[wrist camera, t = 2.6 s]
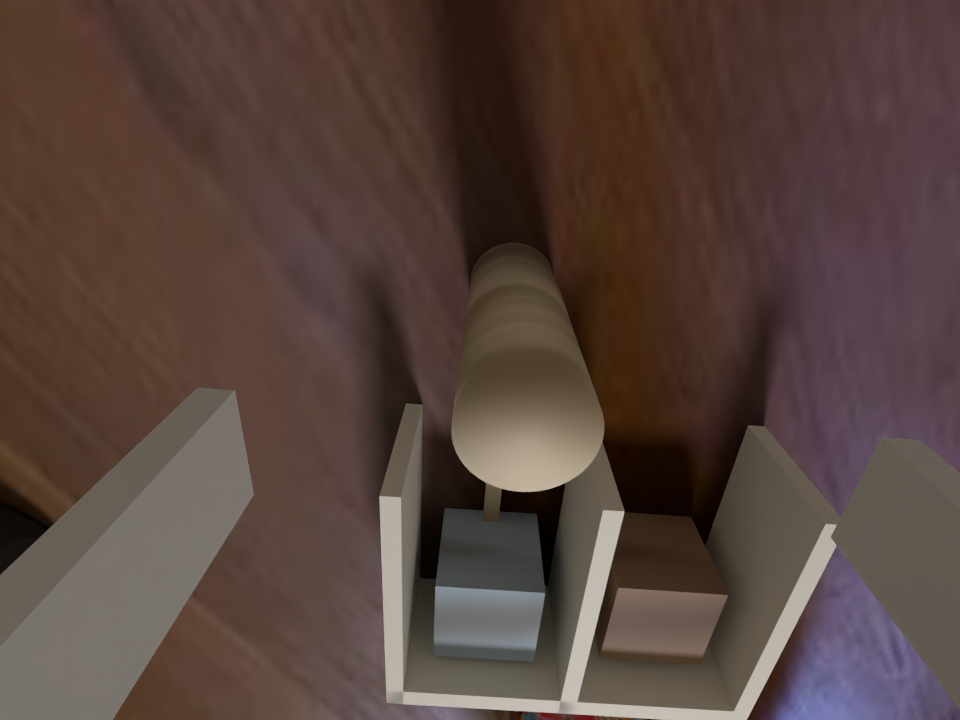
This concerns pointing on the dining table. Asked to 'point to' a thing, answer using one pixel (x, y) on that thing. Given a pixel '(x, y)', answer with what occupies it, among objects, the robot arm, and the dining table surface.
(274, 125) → the dining table surface
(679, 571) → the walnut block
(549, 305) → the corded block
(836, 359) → the dining table surface
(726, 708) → the lane rack
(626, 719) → the mug
